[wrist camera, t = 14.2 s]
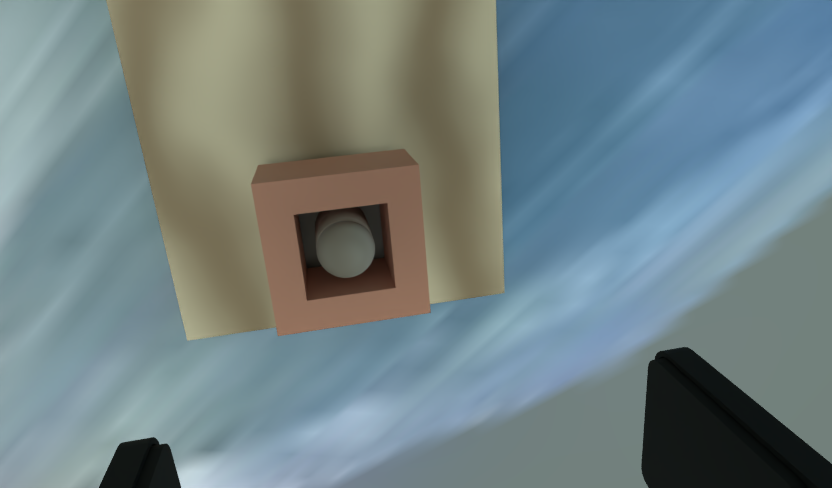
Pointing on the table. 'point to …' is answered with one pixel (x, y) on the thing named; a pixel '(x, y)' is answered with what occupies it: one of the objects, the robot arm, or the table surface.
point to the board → (312, 135)
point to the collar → (336, 189)
